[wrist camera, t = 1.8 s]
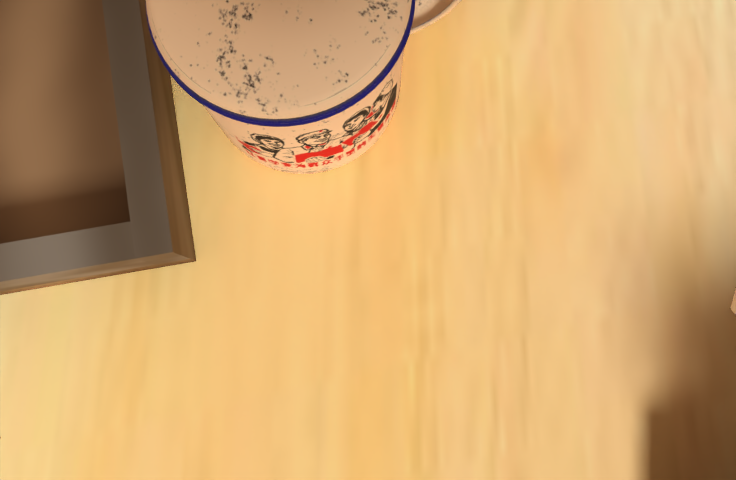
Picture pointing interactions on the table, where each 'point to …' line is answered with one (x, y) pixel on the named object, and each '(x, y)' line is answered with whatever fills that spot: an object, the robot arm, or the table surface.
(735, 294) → the robot arm
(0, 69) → the tray
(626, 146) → the table surface
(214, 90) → the teacup with lid
